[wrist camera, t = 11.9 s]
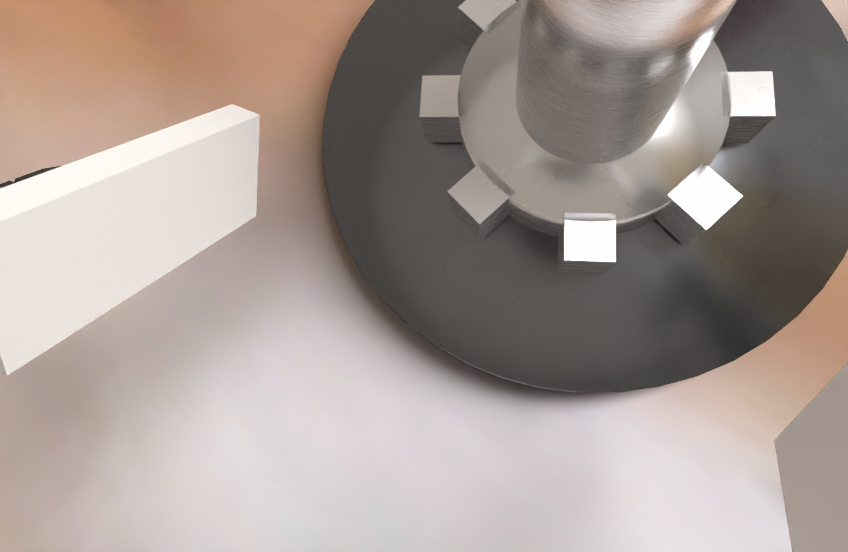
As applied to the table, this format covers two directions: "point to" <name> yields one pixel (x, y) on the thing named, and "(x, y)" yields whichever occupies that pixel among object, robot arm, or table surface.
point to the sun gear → (593, 119)
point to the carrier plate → (635, 250)
